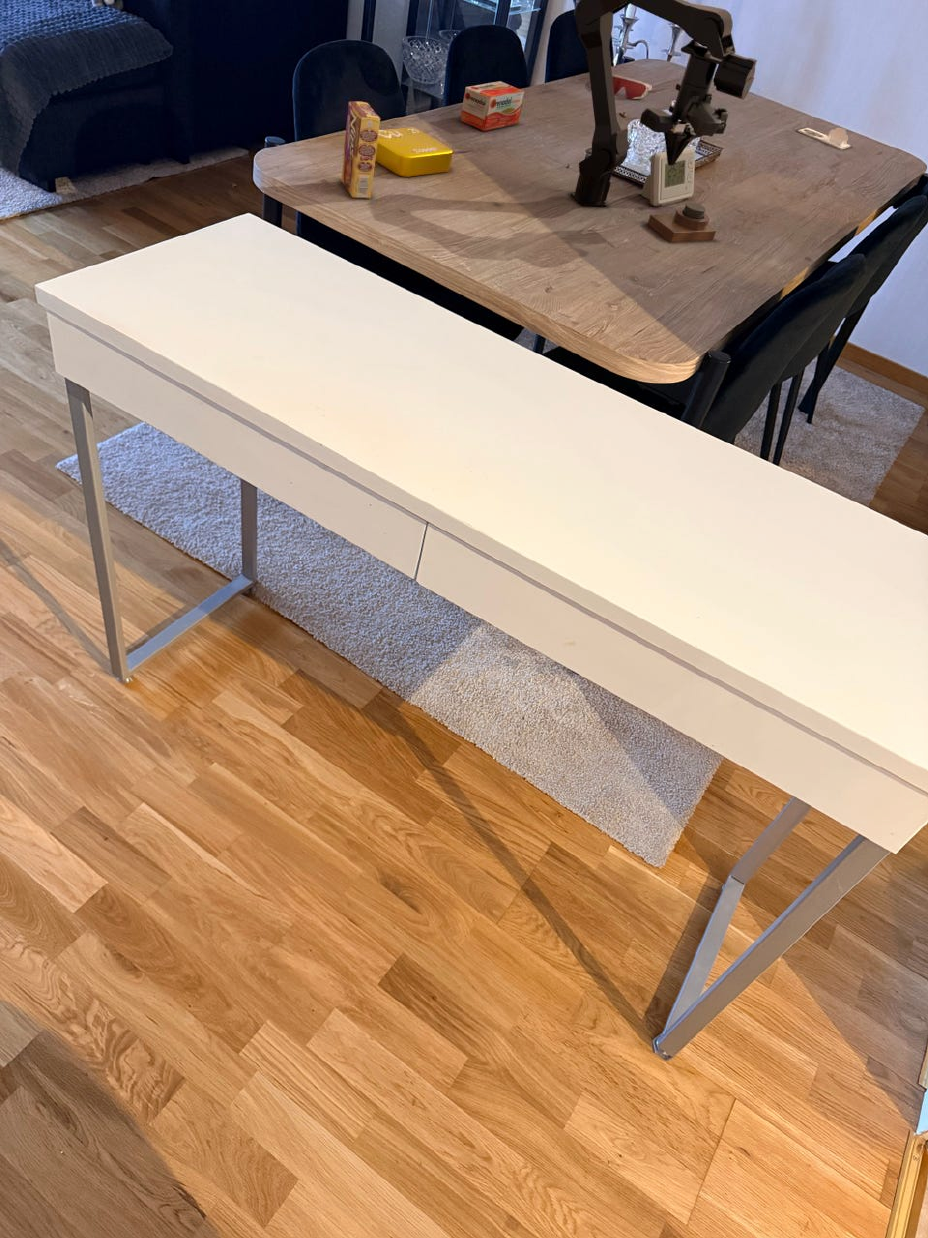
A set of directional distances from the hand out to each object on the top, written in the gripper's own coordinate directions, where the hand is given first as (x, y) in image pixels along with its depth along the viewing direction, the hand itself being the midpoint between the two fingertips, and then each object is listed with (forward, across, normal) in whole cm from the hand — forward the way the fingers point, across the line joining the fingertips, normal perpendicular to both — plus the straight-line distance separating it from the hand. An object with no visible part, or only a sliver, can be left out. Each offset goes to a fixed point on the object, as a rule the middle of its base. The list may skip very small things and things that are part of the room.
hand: (670, 164), depth 194 cm
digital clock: (+13, +14, +13) cm, 23 cm away
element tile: (+13, -44, +36) cm, 58 cm away
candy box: (+13, -62, +21) cm, 66 cm away
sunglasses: (+13, +55, +91) cm, 107 cm away
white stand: (+13, +107, +54) cm, 120 cm away
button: (+9, +7, -4) cm, 13 cm away
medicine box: (+13, -8, +61) cm, 63 cm away
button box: (+13, +6, -4) cm, 15 cm away
